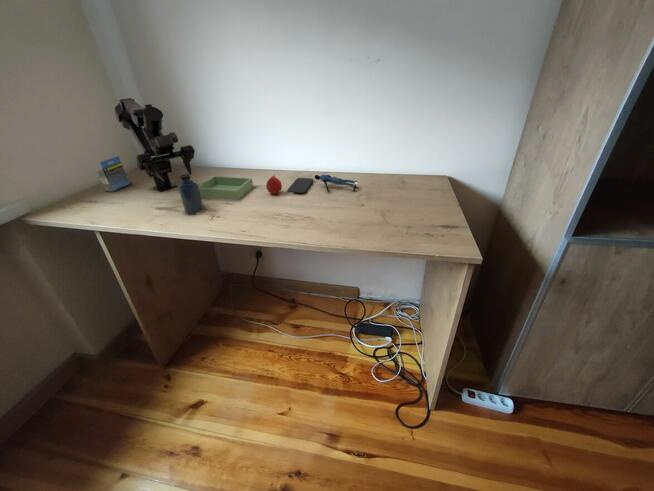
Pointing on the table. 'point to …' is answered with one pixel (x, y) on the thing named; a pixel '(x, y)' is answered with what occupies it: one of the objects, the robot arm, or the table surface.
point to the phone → (300, 185)
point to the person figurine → (336, 181)
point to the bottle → (190, 195)
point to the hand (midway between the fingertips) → (178, 177)
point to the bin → (225, 187)
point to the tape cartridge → (113, 175)
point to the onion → (274, 185)
